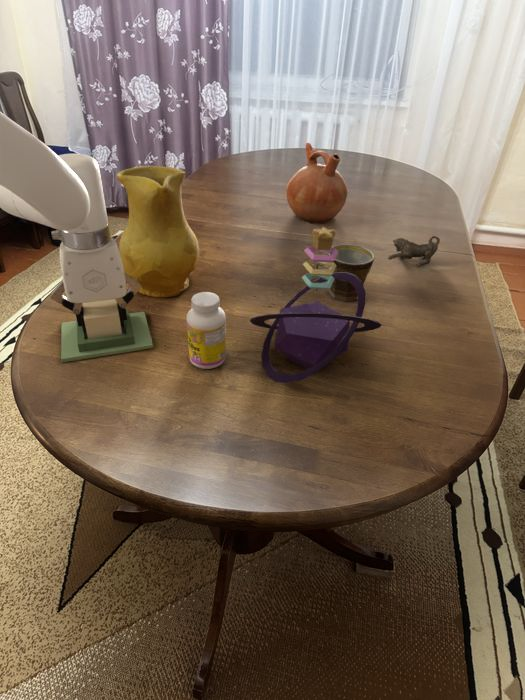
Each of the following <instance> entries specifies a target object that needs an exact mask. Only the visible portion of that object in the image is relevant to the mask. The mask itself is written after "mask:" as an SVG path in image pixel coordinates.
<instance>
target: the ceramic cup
mask: <svg viewBox="0 0 525 700" xmlns="http://www.w3.org/2000/svg"><path fill="white" fill-rule="evenodd" d="M332 248H335V249H336V250H337V251H338V254H337V256H336V258H335V260H334V261H333V262H334V263H335V264H336V267H335V270H334V272H333V273H336V272H348V273H351V274H354V275H356V276H357V277H358V278H359V279H360V280H361V281H362V283H363V286H365V285H364V284H365V282H366V280H367V277H368V275H369V273H370V272H371V270H372V269H371V268H372V266H373V263H374V261H375V253H373V252H372V251H371V250H369V249H368V248H366V247H364V246H360V245H357V244H345V243H344V244H337V245H333V246H332ZM330 255H331V254H330V253H327V256H330ZM319 266H320V264H316V265H315V269H319ZM327 270H329V267H327ZM328 290H329V295H330V296H331V297H332V298H333V299H335V300H338V301H342V302H352V301H356V300H358V296H357V292H356V289H355V287H354V286H353V285H352V284H351V283H350V282H348V281H345V280H342V279H337V280H334V281H333V283H332V285H331V288H329V289H328Z"/></svg>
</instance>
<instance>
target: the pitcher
mask: <svg viewBox="0 0 525 700" xmlns="http://www.w3.org/2000/svg"><path fill="white" fill-rule="evenodd" d="M186 174H187V173H186V171H184V170H182V169H179V168H176V167H172V166H159V165H143V166H141V165H140V166H135V167H134V166H133V167H130V168H126V169H123V170H120V171H119V172H117V173H116V179H117V180H118V181H119V183H120V184H122V186H123V187H124V188H125V191H126V195H127V201H128V221H127V224H126V227H125V229H124V230H123V231H122V233H121V236H120V238H119V243H118V249H119V252H120V256H121V260H122V265H123V269H124V272H125V273H127V274H128V275H130V276H131V277H133V278H134V279H136V280H137V281H139V282H140V283H141V289H140V290H139V291H138V292H137V293H140V294H141V295H146V296H148V297H154V298H155V297H156V298H170V297H171V298H172V297H176V296H178V295H180V294H181V293H183V292H185V291H186V289H187V288H188V287H189V286H190V283H189V282H190V279H189V275H190V274H191V273H192V272H193V271H195V270H196V269H197V265H198V262H199V261H198V260H199V257H200V247H199V241H198V237H197V236H196V234H195V232H194V231H193V230H192V228H191V227H190V225H189V223H188V220H187V219H186V217H185V212H184V208H183V207H184V206H183V200H182V186H183V182H184V181H185V178H186V176H187V175H186Z"/></svg>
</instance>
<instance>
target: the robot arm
mask: <svg viewBox="0 0 525 700" xmlns="http://www.w3.org/2000/svg"><path fill="white" fill-rule="evenodd" d="M106 206H107V205H106V200H105V195H104V187H103V181H102V176H101V170H100V166H99V163H98V162H97V159H95V158H94V157H92V156H91V155H89V154H83V153H64V154H59V155H58V154H57V153H56V152H55V151H53V150H52V149H51V147H49V146H48V145H47V144H46V143H44V142H43V141H42V140H40V139H39V138H38V137H36V136H35V135H34V134H33V133H31V132H30V131H28V130H27V129H26V128H24V127H22V126H21V125H20V124H18V123H17V122H15V121H14V120H12V119H11V118H10V117H8V116H7V115H6V114H5V113H3V112H2V111H0V209H1V210H3V211H4V212H6V213H8V214H10V215H12V216H13V217H17V218H20V219H24V220H27V221H29V222H34V223H37V224H40V225H43V226H46V227H50V228H52V229H55V230H52V231H51V237H52V240H58V241H59V240H60V242H61V243H60V245H59V250H58V251H59V252H58V253H59V265H60V271H61V277H62V279H61V280H60V281H59V283H58V284H57V285H56V286H55V288H54V289H52V291H51V292H50V299H51V300H53V301H55V302H56V303H58V304H61V305H62V307H64V308H66V309H67V310H69V311H71V312H72V313H73V314H74V315H75V318H76V321H77V323H78V326H79V327H80V326H82V328H83V332H86V326H85V322H84V310H83V303H87V302H95V301H103V300H111V299H115V300H116V301H117V307H118V312H119V318H120V324H121V326H122V327H125V326H124V320H127V314H126V309H127V306H128V304H129V303H130V302H131V301H132V300H133V299H134V297H135V296H136V295H137V293H139V292H138V291H139V290H140V289H141V283H140V282H139V281H137V280H136V279H134V278H133V277H131V276H130V275H128V274H127V273H125V271H124V269H123V265H122V260H121V256H120V252H119V245H118V244H117V241H116V239H115V238H114V237H112V236H111V231H110V225H109V220H108V213H107V207H106ZM127 285H128V286H130V287H129V288H127ZM64 293H65V295H66V296H65V295H64Z"/></svg>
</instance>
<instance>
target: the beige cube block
mask: <svg viewBox="0 0 525 700" xmlns="http://www.w3.org/2000/svg"><path fill="white" fill-rule="evenodd" d="M82 307H83V310H84V322H85V326H86V331H87V335H88V339H94V338H101V337H107V336H114V335H121V334H122V330H121V324H120V318H119V312H118V307H117V301H116V300H115V299H111V300H103V301H95V302H87V303H82Z"/></svg>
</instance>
